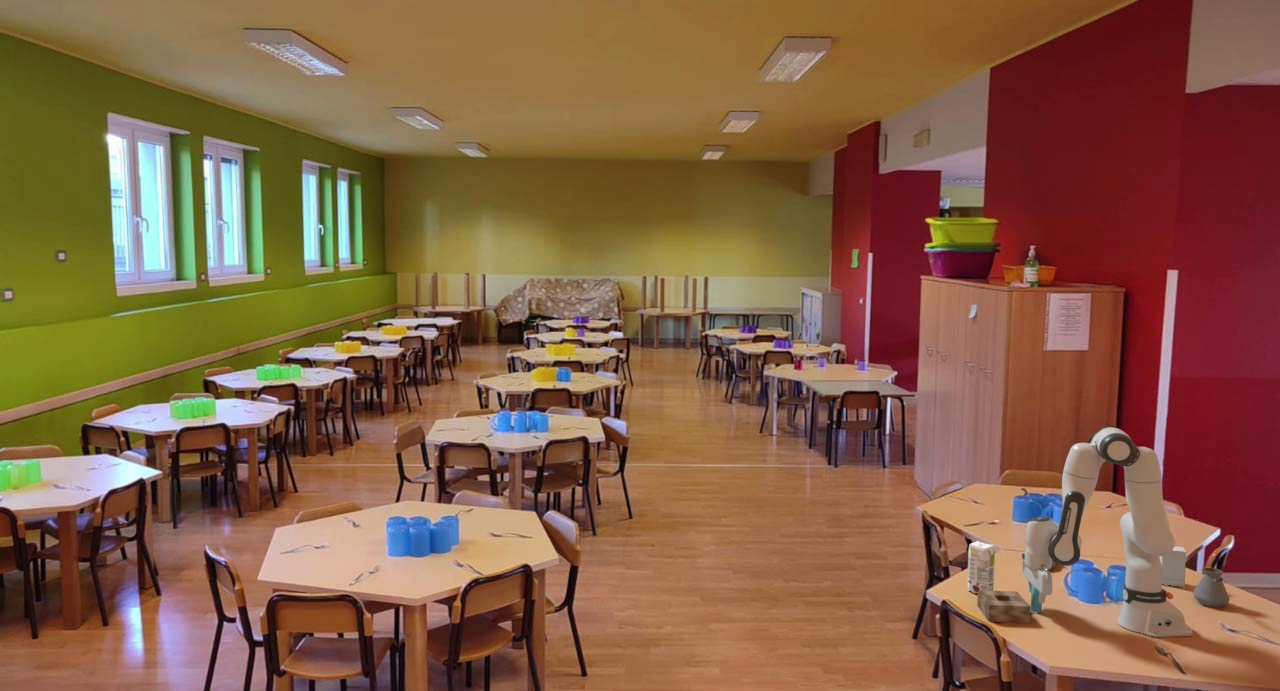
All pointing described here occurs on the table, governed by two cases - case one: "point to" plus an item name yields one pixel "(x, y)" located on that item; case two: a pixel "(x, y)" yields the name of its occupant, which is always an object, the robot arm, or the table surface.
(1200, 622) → the table surface
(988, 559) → the juice carton
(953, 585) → the table surface
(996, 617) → the socket block
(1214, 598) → the coffee pot
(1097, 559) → the table surface
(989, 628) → the table surface
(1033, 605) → the peg
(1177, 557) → the skincare box
